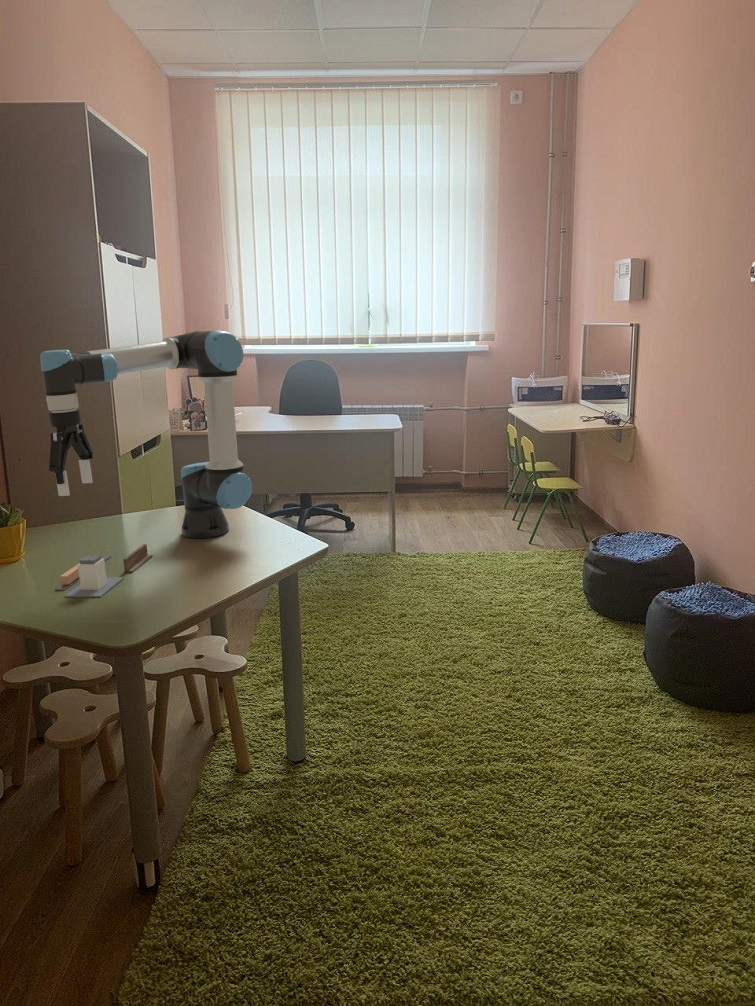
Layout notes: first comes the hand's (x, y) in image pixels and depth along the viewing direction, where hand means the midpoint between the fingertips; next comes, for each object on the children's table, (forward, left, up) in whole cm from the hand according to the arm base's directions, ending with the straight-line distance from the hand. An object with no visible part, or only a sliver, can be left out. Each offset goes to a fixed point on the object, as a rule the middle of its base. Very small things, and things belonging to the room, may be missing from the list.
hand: (76, 489), depth 214 cm
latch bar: (+5, -1, -26) cm, 26 cm away
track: (+5, -6, -26) cm, 27 cm away
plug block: (-4, +6, -26) cm, 27 cm away
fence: (-8, -13, -26) cm, 30 cm away
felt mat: (-4, +6, -26) cm, 27 cm away
